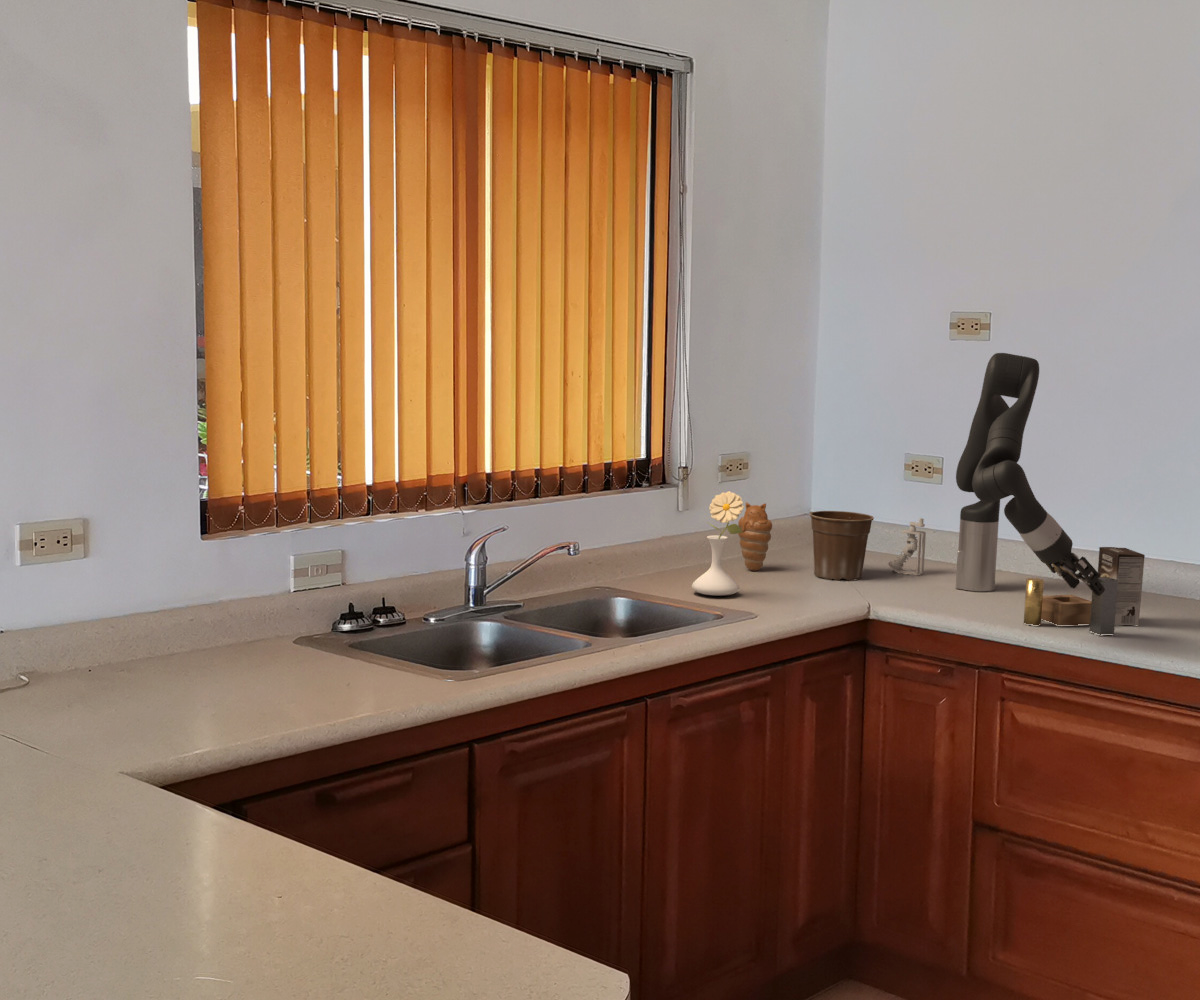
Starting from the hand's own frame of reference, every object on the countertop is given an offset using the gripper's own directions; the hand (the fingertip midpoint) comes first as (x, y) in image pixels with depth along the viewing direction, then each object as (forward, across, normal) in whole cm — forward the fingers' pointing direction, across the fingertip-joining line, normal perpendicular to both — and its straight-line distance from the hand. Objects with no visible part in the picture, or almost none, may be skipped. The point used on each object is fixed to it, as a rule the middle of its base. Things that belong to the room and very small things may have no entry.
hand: (1088, 589), depth 278 cm
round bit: (+3, +11, +11) cm, 16 cm away
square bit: (+10, 0, +4) cm, 11 cm away
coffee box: (+18, +10, -4) cm, 21 cm away
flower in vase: (-38, +53, +52) cm, 83 cm away
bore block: (+10, +12, +4) cm, 16 cm away
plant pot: (-10, +70, +24) cm, 75 cm away
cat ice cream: (-23, +81, +37) cm, 92 cm away
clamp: (+5, +72, +9) cm, 73 cm away
